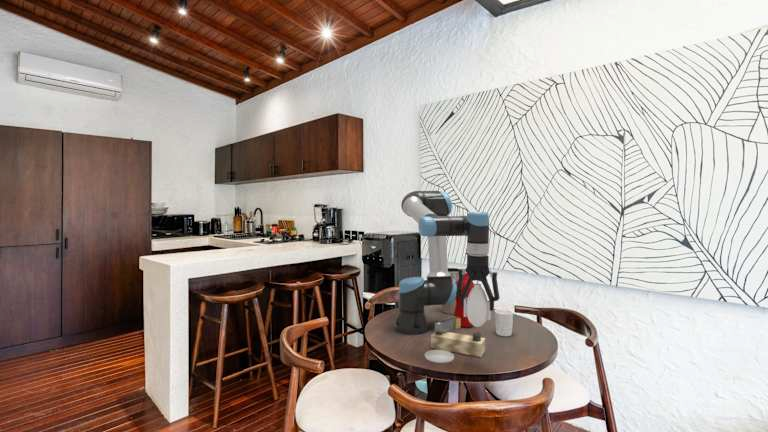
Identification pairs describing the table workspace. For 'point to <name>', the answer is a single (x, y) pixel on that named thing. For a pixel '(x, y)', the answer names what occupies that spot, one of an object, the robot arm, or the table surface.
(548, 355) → the table surface
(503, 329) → the white cup
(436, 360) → the white round disc
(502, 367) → the table surface
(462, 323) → the red lumpy piece
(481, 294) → the sauce bottle
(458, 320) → the lever
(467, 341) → the beige long block
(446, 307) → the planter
